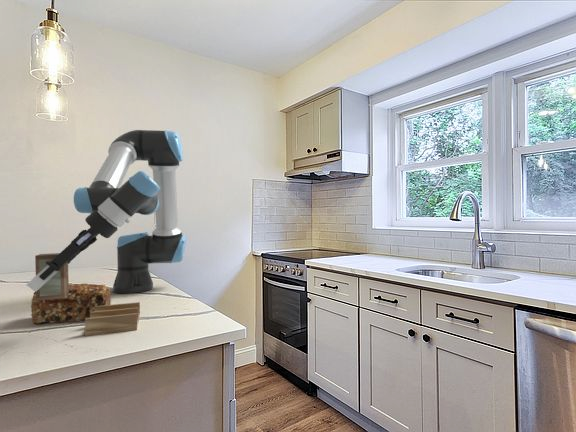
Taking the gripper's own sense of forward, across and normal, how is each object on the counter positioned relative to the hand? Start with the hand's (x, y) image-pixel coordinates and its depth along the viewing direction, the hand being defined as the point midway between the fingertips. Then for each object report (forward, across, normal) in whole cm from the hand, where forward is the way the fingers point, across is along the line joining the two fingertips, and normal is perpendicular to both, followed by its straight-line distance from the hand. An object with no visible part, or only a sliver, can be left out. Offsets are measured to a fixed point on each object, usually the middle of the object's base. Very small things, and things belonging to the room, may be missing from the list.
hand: (34, 285), depth 85 cm
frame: (0, 0, -5) cm, 5 cm away
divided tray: (-3, +4, -21) cm, 22 cm away
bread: (+6, +16, -13) cm, 22 cm away
